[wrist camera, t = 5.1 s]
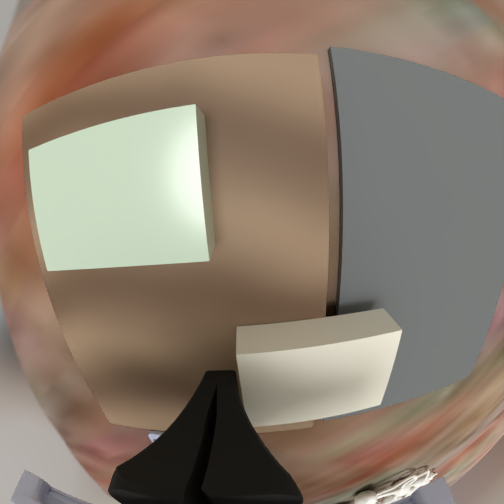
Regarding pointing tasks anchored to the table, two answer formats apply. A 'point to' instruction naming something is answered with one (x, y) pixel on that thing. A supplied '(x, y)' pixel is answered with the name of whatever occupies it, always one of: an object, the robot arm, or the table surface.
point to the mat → (419, 212)
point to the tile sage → (125, 193)
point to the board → (225, 227)
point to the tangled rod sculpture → (395, 490)
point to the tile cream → (315, 366)
